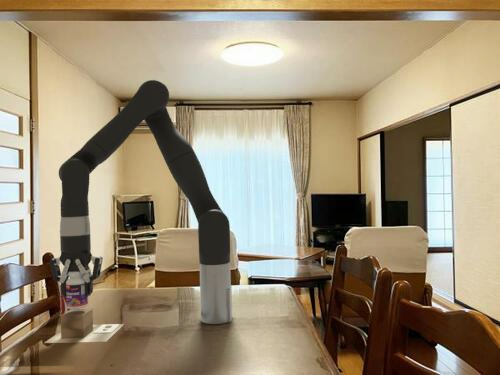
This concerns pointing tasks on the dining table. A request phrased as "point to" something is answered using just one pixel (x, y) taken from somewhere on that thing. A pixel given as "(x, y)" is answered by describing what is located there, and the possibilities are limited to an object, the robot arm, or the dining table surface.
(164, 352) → the dining table surface
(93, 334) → the board
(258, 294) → the dining table surface
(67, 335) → the walnut cube
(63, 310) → the soda can
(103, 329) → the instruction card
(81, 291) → the pill bottle
